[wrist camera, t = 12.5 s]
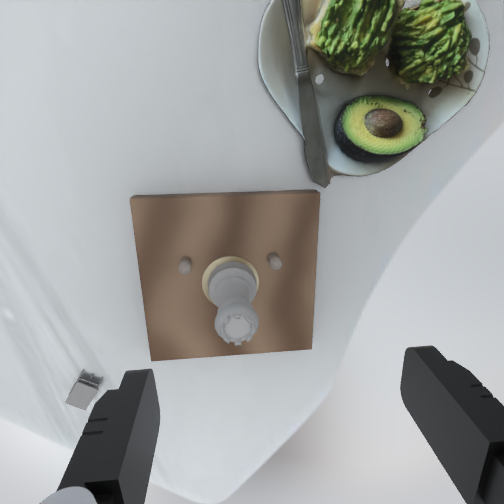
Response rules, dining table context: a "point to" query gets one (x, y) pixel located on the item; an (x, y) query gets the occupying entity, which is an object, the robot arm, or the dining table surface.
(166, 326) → the pin board
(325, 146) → the salad plate
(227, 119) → the dining table surface
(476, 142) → the dining table surface
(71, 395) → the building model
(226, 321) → the rook chess piece
